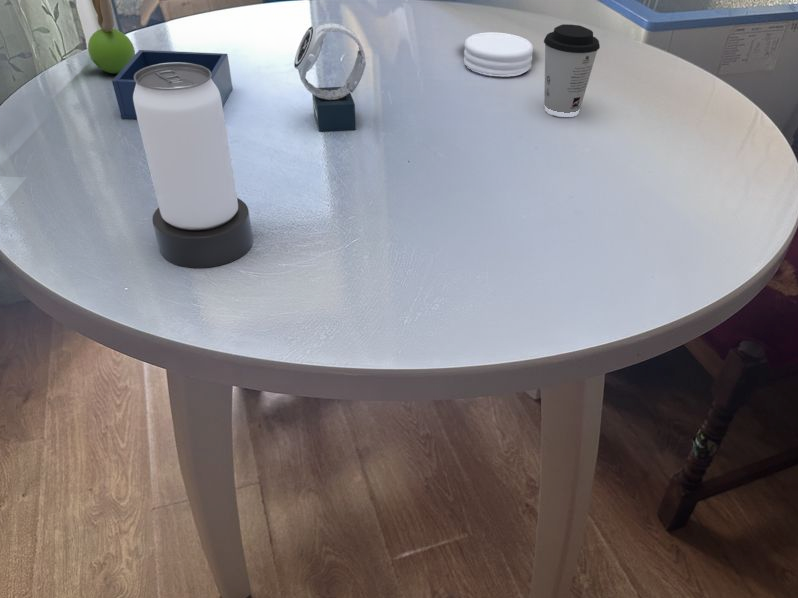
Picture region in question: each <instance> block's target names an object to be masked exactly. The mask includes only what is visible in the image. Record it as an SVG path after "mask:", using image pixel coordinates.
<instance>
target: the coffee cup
mask: <svg viewBox="0 0 798 598" xmlns="http://www.w3.org/2000/svg"><path fill="white" fill-rule="evenodd" d="M543 43H544V44H545V45H544V46H545V48H544V94H543V98H544V99H543V106H544V105H545V106H546V107H547V108H548V109H551V110H553V111H557V112H564V113H570V112H576V111H578V110H579V109H580V110H581V109H582V104H583V101H584V97H585V94H586V92H587V91H586V90H587V87H588V84H589V80H590V77H591V73H592V70H593V66H594V63H595V60H596V56H597V53H598V50H599V49H601V45H600V41H599V39H598V38H597V37H595V36H594V32H593V30H591V29H590V28H587V27H585V26H583V25H578V24H569V23H568V24H567V23H566V24H559V25H557V26H556V27H554V29H553V31H551V32H549V33H547V34H546V36H545V37H544V39H543Z"/></svg>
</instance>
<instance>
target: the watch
mask: <svg viewBox="0 0 798 598" xmlns="http://www.w3.org/2000/svg"><path fill="white" fill-rule="evenodd" d="M331 32H332V33H341V34H343V35H346V36H347V37H349V38H350V39H352V40H353V41H354V42H355V43H356V45H357V46H358V50H357V56H356V59H355V62H354V65H353V68H352V70H351V72H350V74H349V76H348V77H347V78H346V82H345V84H344V85H343V86H327V87H325V86H324V87H316V86H314V85H313V84H312V83H311V82H309V80H308V79H307V78H306V77H307V72H309V71H310V70H311V69H312V68H313V67H314V65H315V64H316V61H317V60H318V58H319V56H320V53H321V51H322V47H323V43H324V39H325V38H326V37H327V34H328V33H331ZM366 61H367V60H366V54H365V51H364V48H363V45H362V43H361V41H360V39H359V38H358V36H357V35H356V34H355V32H353V31H352V30H351V28H348V27H347V26H345V25H343V24H341V23H338V22H331V21H329V22H322V23H318V24H317V25H316V26H313V25H311V26H309V28H307V30H306V31H305V33H304V34H303V37H302V38H301V40H300V42H299V45H298V48H297V50H296V53H295V57H294V61H293V62H294V63H293V64H294V65H293V67H294V68H295V69H296V70H297V71H298V75H299V78H300V81H301V82H302V84H303V86H304V87H305V89H306V90H307V91H309V93H310V94H312V96H311V97H312V109H313V110H312V111H313V115H314V119H315V123H316V126H317V130H318V132H319V133H320V132H321V133H322V132H340V131H342V132H343V131H355V130H356V129H357V127H356V104H355V101H354V98H353V96H352V93H354V91H355V90H356V88H357V87H358V85H359V83H360V81H361V80H362V77H363V75H364V72H365V69H366V64H367V62H366Z"/></svg>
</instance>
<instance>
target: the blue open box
mask: <svg viewBox="0 0 798 598" xmlns="http://www.w3.org/2000/svg"><path fill="white" fill-rule="evenodd" d="M172 62H182V63H192V64H197V65H201V66H204V67H206V68H207V69H209V70H210V71H211V74H212V76H211V79H212V81H213V82H214V83H215V85H216V86H217V88H218V90H219V92H220V96H221V101H222V107H223V108H224V106H225V104H226V103H227V100H228V99H229V97H230V95H231V93H232V91H233V82H232V81H233V80H232V73H231V68H230V61H229V55H228V53H221V52H219V53H218V52H198V51H197V52H196V51H176V50H175V51H174V50H154V49H153V50H152V49H149V50H148V49H147V50H146V49H139V50H138V51H137V52H135V55H134V57H133V58H132V59H131V60H130V61H129V62H128V63H127V64H126V66H125V67H124V68H123V69H122V70H121V71H120V72H119V73H118V74H116V75H115V77H114V78H113V79H112V80H111V83H112V87H113V90H114V94H115V98H116V102H117V106H118V109H119V114H120V118H121V119H123V120H138V119H137V115H136V111H135V106H134V101H133V94H134V90H135V86H136V82H135V80H134V75H135V73H136V72H137V71H139V70H140V69H143V68H145V67H148V66H151V65H156V64H161V63H172Z"/></svg>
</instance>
